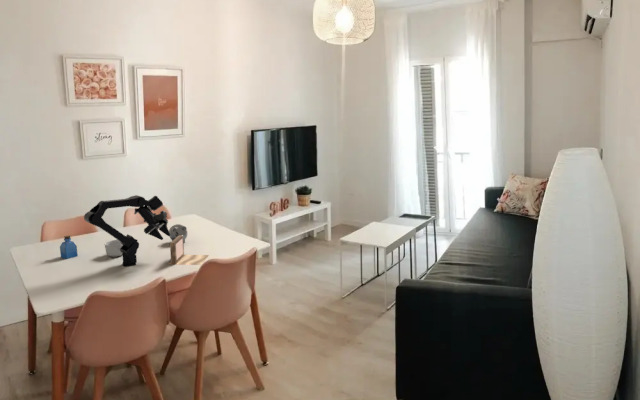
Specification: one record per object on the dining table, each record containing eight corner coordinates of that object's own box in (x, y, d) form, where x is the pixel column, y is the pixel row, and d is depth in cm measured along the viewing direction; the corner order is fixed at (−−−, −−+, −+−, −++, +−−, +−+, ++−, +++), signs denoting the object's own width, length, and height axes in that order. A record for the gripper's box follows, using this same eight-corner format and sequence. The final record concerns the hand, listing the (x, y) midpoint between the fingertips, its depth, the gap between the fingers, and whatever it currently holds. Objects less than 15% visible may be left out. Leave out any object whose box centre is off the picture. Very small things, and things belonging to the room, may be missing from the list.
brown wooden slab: (171, 264, 262) (169, 242, 260) (180, 255, 277) (178, 235, 275) (175, 264, 262) (174, 243, 260) (184, 255, 277) (183, 235, 275)
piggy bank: (172, 247, 295) (171, 228, 293) (166, 241, 308) (165, 223, 306) (190, 244, 301) (190, 226, 298) (184, 238, 313) (183, 221, 311)
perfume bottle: (77, 256, 277) (75, 235, 275) (67, 259, 272) (64, 238, 270) (71, 254, 280) (69, 234, 278) (60, 257, 275) (58, 236, 273)
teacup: (121, 258, 274) (120, 244, 272) (102, 258, 274) (100, 244, 272) (131, 251, 287) (130, 237, 286) (112, 250, 287) (111, 237, 286)
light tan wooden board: (168, 265, 263) (167, 264, 263) (178, 255, 279) (178, 254, 279) (201, 265, 262) (200, 264, 262) (209, 255, 279) (209, 255, 279)
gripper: (150, 209, 255) (169, 232, 256) (165, 203, 274) (183, 225, 274) (135, 222, 257) (154, 245, 258) (151, 215, 276) (169, 237, 276)
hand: (166, 237), depth 267 cm, fingers open, 9 cm apart
